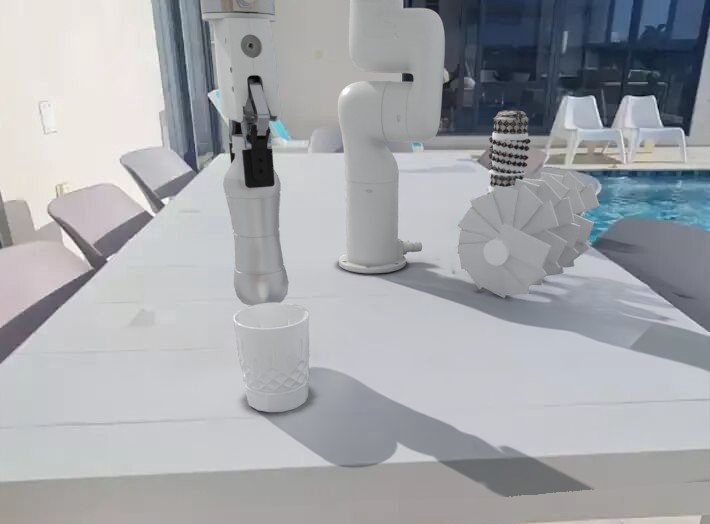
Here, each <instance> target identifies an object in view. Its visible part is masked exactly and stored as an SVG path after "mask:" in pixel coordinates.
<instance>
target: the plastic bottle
mask: <svg viewBox="0 0 710 524" xmlns="http://www.w3.org/2000/svg"><path fill="white" fill-rule="evenodd" d="M231 143H232V146H233V148H232V153H235V159H234V160H233V162H232V163H231V162H230V165H229V167H227V170H226V172H225V174H224V177H223V182H222V187H223V192H224V195H225V200H226V204H227V208H228V211H229V215H230V221H231V227H232V230H233V231H232V232H233V233H232V235H233V239H234V266H235V267H234V271H233V287H234V291H235V294H236V297H237V299H238V300H240V302H241V303H242V304H244V305H247V306H252V305H257V304H263V303H283V301H284V300H285V298H286V297H287V295H288V292H289V291H288V290H289V283H290V282H289V277H288V272H287V269H286V265H284V264H285V263H284V257H283V251H282V244H281V238H280V237H281V235H280V234H281V233H280V232H281V231H280V204H281V191H282V190H281V188H282V187H281V179H280V178H279V174H278V173H277V172H276V170H275V169H274V181H275V184H274V186H272V187H258V188H248V187H246V185H245V178H244V167H243V156H242V150H245V146H244V140H243V134H237V135H232V142H231Z"/></svg>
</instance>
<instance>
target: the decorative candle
mask: <svg viewBox="0 0 710 524" xmlns="http://www.w3.org/2000/svg"><path fill="white" fill-rule="evenodd" d="M492 119H493V120H494V124H493V132H492V135H491V137H489V138H488V141H489V143H491V145H490V146H489V147H488V150H489V152H490V153H489V154H488V159H490V160H491V161H490V162H489V163H488V168H490V169H488V173H489V174H490V177H489V181H490V183H489V185H488V193H487V194H489V193H491V191H494V186H495V185H497V186H501V187H508V186H512V185H515V181H516V179H520V180H523V179H524V176H525V175H526V174H527V171H526V170H524V169H525V167H527V166H528V163H527V162H526V161H527V160H528V159H529V156H528V155H527V154H526V153H527V152H528V151H530V150H531V149H530V147H529V146H528V145H529V144H530V143H531V139H529V133H528V131H529V118H528V117H527V113H526V112H524V111H522V110H500V111H498V113H497V114H496V116H495V117H492Z"/></svg>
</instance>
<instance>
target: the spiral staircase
mask: <svg viewBox="0 0 710 524" xmlns="http://www.w3.org/2000/svg"><path fill="white" fill-rule="evenodd" d="M488 193H489V192H488ZM488 193H485V194H483V195H481V196H478V197H475V198H472V199H470V200H469V201H470V205H471V207H470V208H469V210H468V211H467V212H466V213H465V214H464V216H463V217H462V219H461V220H460V221H459V222H458V224H457V227H459V229H460V230H459V237H458V238H459V239H458V244H457V254H458V256H459V261H460V268H461V269H462V270H465V271H466V273H467V274H468V275H469V277H470V278H471V279H472V281H473V282H474V284H475V285H476V287H477V288H478V289H479V290H481V289H483V288H484V289H486V290H488V291H490V292H492V293H493V294H495V295H497V296H499V297H502V298H503V299H505V298H506V296H507V295H529V294H530V293H531V292H530V291H531V290H530V286H543V279H544V278H546V277H550V276H555V275H561V274H564V273H565V270H564V268H575V260H576V259H577V258H579V257H580V256H582V255H583V254H585V253H586V252H587V251H588V250H590V249H591V246H590V245H589V244H588V240H589V238H590V235H591V233H592V230H593V228H594V225H595V222H594V221H592V220H590V219H587V218H585V217H583V216H580V215H578V214H581V213H583V212H586V211H589V210H592V209H595V208H598V207H600V206H601V205H600V203H599V202H600V201H599V199H598V197H597V194H596V189H595V187H594V184H593V183H590V184H587V185H585V184H584V183H583V182H582V181H581V180H580V179H578V178H577V177H576V176H575V175H574V174H573V173H571V171H569V170H568V171H566V172H565V173H564V175H562V174H561V175H560V174H556V173H555V174H554V173H549V172H543V171H542V172H540V178H539V177H538V178H536V179H533V178H525V177H523V180H520V179H516V181H515V185H512V186H508V187H501V186H497V185H495V186H494V191H491V193H489V194H488Z"/></svg>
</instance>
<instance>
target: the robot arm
mask: <svg viewBox="0 0 710 524" xmlns="http://www.w3.org/2000/svg"><path fill="white" fill-rule="evenodd" d="M199 2H200V10H201V19H202V21H205V22H212V27H213V44H214V54H215V55H214V57H215V66H216V78H217V87H218V96H219V97H218V98H219V104H220V109H221V113H222V115H223V116H224V117H226V118H227V119H228V139H229V143H228V146H229V147H228V148H229V158H230V164H231V163H232V162H233V160H234V159H235V153H232V148H233V146H232V135H237V134H243V140H244V146H245V150H242V156H243V167H244V178H245V185H246V187H248V188H258V187H272V186H274V184H275V181H274V170H275V167H274V156H273V155H274V154H273V141H272V136H271V132H272V131H271V127H270V122H276V123H277V122H278V121H279V120H280V119H281V117H282V104H281V95H280V86H279V77H278V76H279V75H278V66H277V57H276V50H275V42H274V36H273V31H272V25H271V23H275V22H276V9H275V0H199ZM348 18H349V19H348V24H349V25H348V50H349V52H348V53H349V59H350V62H351V64H352V65H353V66H354V68H356V69H357V70H359V71H362V72H364V73H365V72H366V73H375V74H376V73H377V74H411V75H412V77H413V78H412V79H413V81H394V80H393V81H391V80H361V81H355V82H352V83H350V84H348V85H345V87H344V88H343V89H342V90H341V92H340V93H339V95H338V99H337V106H336V107H337V118H338V123H339V128H340V133H341V140H342V146H343V156H344V157H343V159H344V183H345V184H344V187H345V188H344V189H345V221H346V222H345V223H346V224H345V226H346V227H345V228H346V229H345V230H346V253H344V254H342V255H340V256H339V258H338V265H339V267H341V268H342V269H343V270H345V271H349V272H352V273H353V272H354V273H358V274H359V273H360V274H386V273H393V272H396V271H400V270H401V269H404V268H405V266H406V265H407V258H406V257H405V255H407V254H408V253H418V252H422V250H423V245H422V242H421V241H420V240H417V241H410V240H409V239H408V240H402V239H400V238H399V178H400V176H399V173H400V172H399V166H398V161H397V160H396V158H395V156H394V155H393V153H392V151H391V150H390V148H389V147H388V145H387V143H410V144H411V143H413V144H414V143H416V144H417V143H418V144H421V143H428V142H431V141H432V140H434V139H435V137H436V136H437V134H438V131H439V128H440V123H441V115H442V103H443V102H442V101H443V87H444V85H443V83H444V70H445V55H446V52H445V51H446V36H445V29H444V23H443V20H442V19H441V16H440V15H439V14H438V12H436V11H434V10H433V9H430V8H425V7H403V0H349V17H348Z"/></svg>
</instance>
